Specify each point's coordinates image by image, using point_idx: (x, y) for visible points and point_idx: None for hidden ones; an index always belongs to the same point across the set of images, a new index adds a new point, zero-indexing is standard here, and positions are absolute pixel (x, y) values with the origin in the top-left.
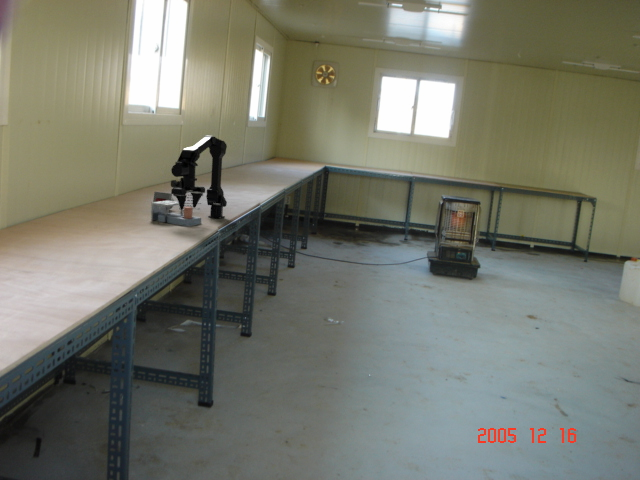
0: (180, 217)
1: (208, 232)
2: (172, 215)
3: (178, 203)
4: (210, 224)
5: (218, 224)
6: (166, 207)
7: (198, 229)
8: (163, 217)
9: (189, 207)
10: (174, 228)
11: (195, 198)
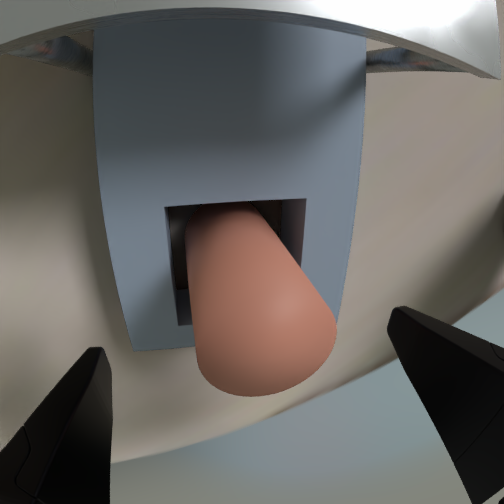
0: (175, 205)
1: (124, 453)
2: (217, 34)
3: (407, 41)
4: (336, 339)
5: (364, 357)
6: (2, 54)
7: (128, 404)
8: None
9: (286, 356)
10: (2, 307)
11: (469, 419)
